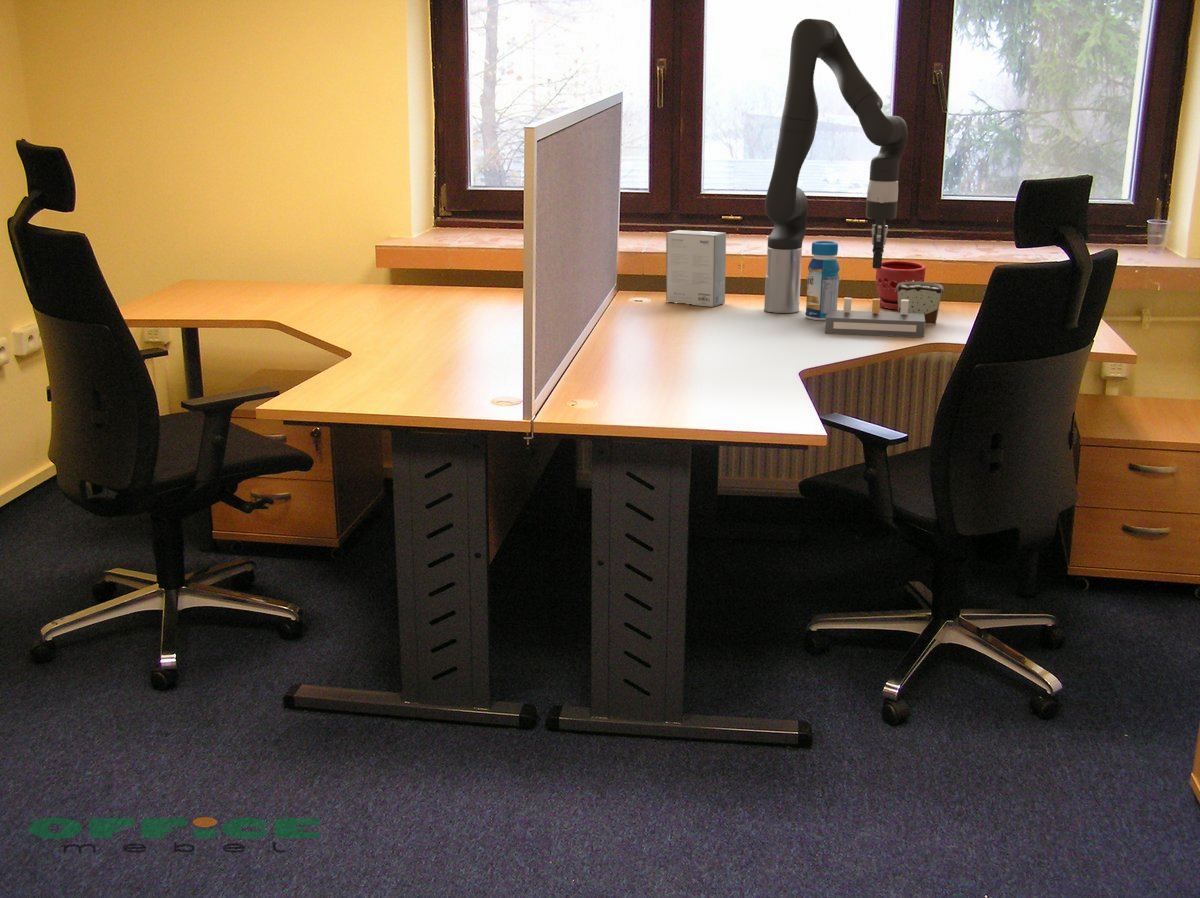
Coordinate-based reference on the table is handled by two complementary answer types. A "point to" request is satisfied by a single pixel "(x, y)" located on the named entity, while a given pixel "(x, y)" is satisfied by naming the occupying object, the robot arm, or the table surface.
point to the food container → (921, 298)
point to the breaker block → (875, 323)
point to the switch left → (847, 304)
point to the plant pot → (898, 273)
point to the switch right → (904, 307)
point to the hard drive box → (695, 267)
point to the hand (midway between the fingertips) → (876, 268)
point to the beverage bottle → (822, 280)
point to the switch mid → (875, 306)
